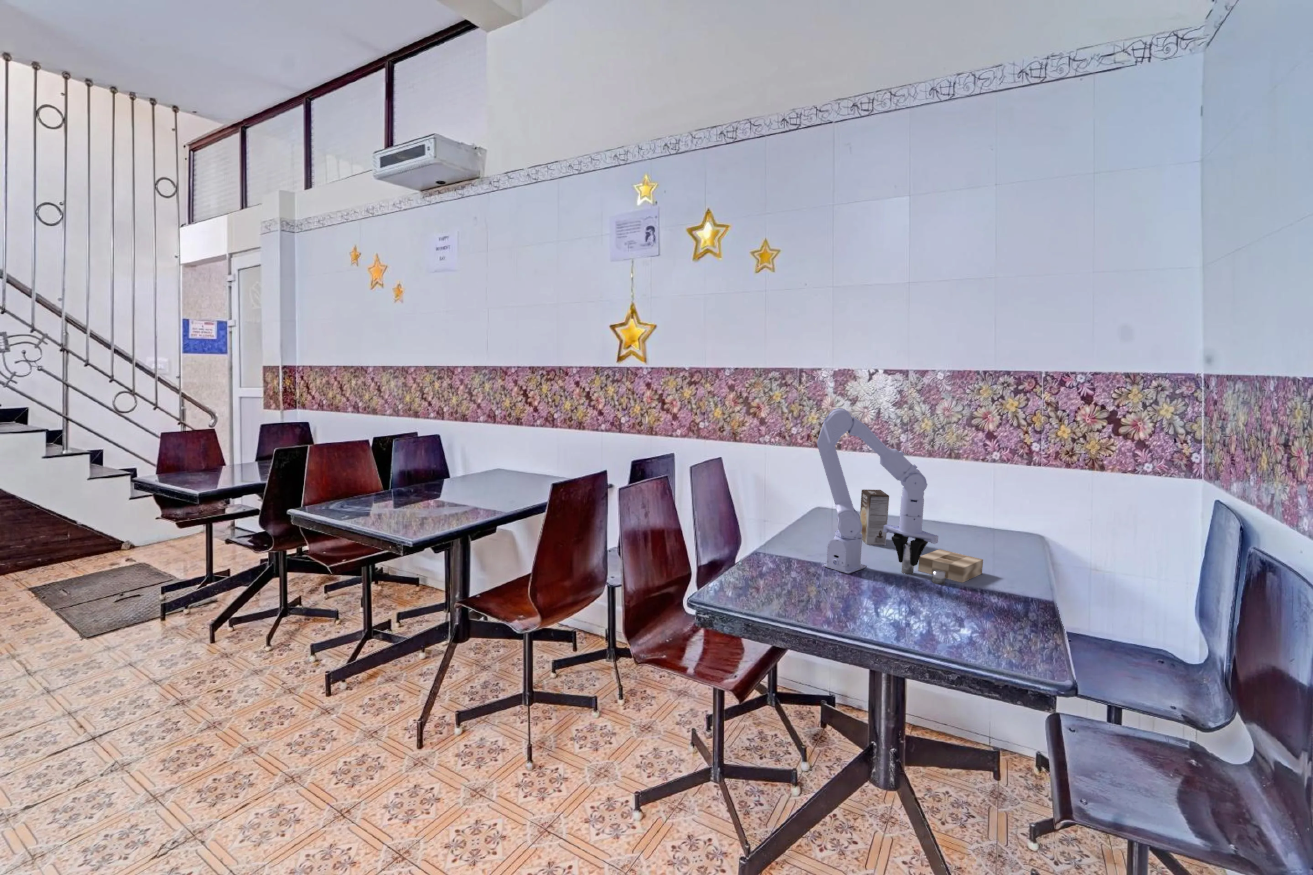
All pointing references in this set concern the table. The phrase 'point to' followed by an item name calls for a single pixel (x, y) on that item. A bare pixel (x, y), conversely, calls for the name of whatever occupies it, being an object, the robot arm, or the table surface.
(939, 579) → the short stub
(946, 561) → the socket block
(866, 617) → the table surface
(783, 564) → the table surface
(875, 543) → the coffee box
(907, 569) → the long pin
